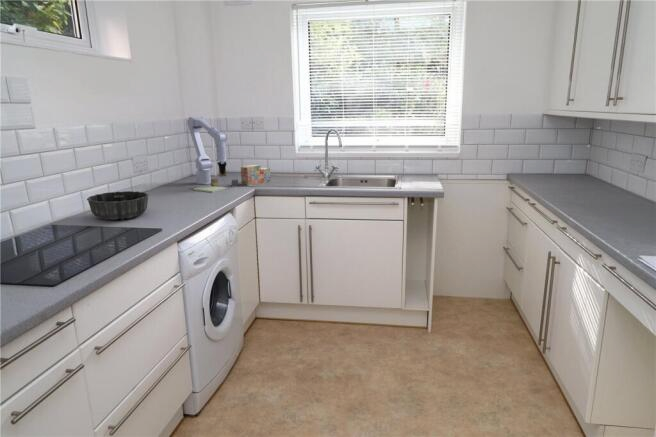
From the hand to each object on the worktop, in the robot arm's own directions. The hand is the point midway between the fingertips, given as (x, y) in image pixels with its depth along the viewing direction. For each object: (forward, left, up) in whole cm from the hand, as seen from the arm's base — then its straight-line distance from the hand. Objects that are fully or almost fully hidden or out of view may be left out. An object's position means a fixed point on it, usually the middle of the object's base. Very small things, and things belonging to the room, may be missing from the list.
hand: (222, 173), depth 281 cm
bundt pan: (+10, -82, -9) cm, 83 cm away
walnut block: (0, 0, -2) cm, 2 cm away
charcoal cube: (+5, +6, -8) cm, 12 cm away
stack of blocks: (+10, +22, -9) cm, 25 cm away
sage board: (0, -12, -8) cm, 15 cm away
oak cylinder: (-5, -3, -8) cm, 10 cm away
